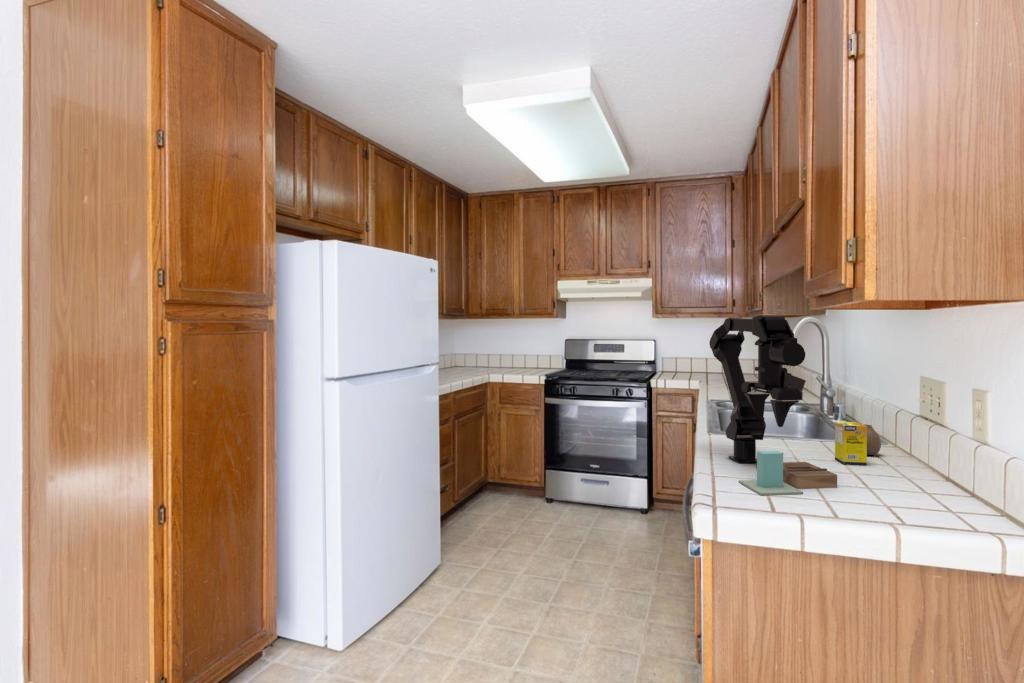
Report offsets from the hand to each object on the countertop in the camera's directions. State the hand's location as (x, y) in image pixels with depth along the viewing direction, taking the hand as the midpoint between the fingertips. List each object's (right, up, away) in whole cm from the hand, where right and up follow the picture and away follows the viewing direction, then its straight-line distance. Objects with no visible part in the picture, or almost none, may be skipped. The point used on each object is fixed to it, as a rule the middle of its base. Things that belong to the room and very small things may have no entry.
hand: (770, 423), depth 136 cm
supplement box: (+27, -13, +10) cm, 32 cm away
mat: (-6, -13, -12) cm, 19 cm away
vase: (+38, -12, +19) cm, 44 cm away
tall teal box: (-6, -13, -12) cm, 19 cm away
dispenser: (+5, -13, -6) cm, 15 cm away
